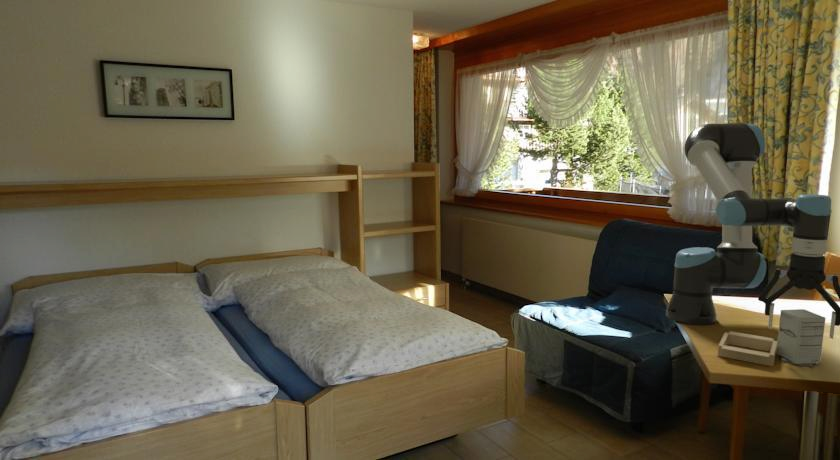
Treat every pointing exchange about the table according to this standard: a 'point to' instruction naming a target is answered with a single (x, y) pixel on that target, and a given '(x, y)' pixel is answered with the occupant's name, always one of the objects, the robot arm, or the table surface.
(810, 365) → the coaster
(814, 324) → the supplement box
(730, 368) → the table surface
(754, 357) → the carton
